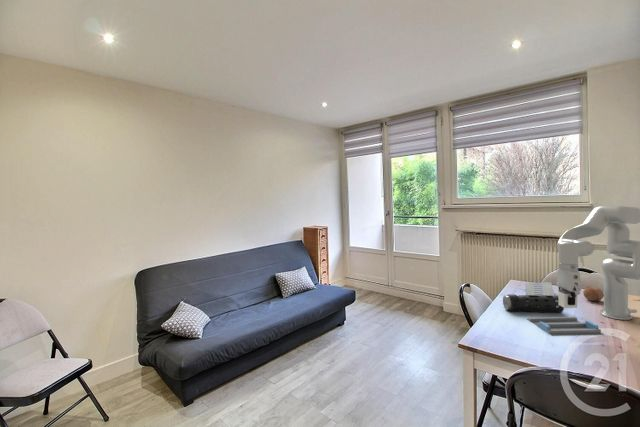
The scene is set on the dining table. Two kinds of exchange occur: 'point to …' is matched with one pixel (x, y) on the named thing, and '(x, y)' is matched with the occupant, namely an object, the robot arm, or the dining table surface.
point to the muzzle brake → (531, 303)
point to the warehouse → (539, 289)
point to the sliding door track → (565, 326)
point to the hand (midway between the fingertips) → (567, 302)
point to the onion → (593, 294)
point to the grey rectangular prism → (565, 299)
